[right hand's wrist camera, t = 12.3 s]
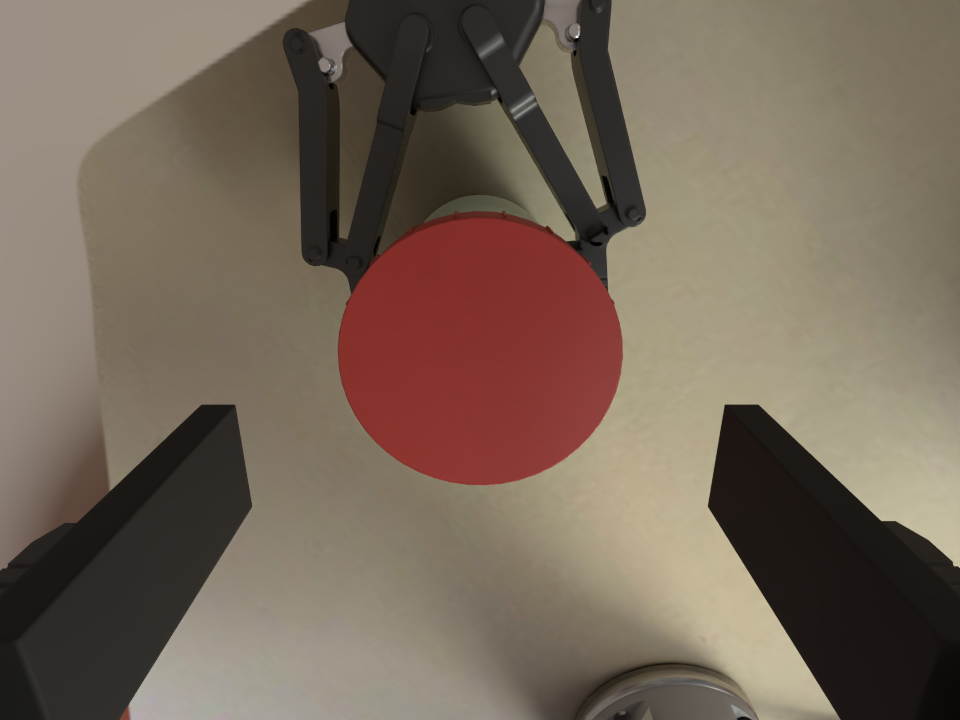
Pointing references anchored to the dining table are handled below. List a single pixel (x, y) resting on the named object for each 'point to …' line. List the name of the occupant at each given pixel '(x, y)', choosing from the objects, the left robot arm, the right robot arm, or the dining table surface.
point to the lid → (480, 348)
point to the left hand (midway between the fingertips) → (490, 379)
